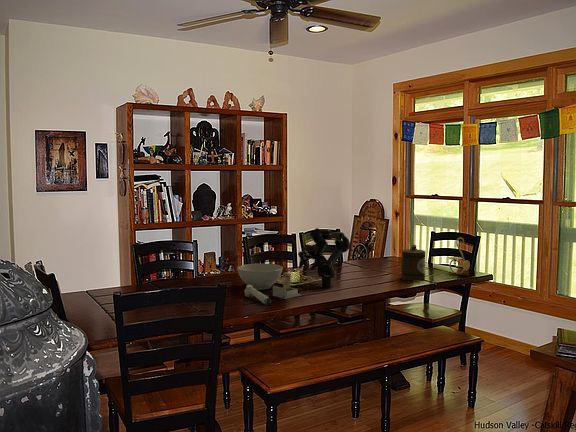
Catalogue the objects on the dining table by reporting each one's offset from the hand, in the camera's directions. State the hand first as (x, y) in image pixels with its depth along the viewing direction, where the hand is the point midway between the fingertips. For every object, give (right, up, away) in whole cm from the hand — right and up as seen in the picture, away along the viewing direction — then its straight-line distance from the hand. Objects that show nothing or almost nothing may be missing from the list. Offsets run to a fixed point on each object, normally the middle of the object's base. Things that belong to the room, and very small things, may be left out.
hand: (304, 269), depth 286 cm
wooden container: (+71, -11, +40) cm, 82 cm away
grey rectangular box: (-10, -14, -5) cm, 18 cm away
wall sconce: (+105, -9, +55) cm, 118 cm away
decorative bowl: (-26, -13, +15) cm, 33 cm away
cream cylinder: (-10, -14, -5) cm, 18 cm away
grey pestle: (-26, -15, -14) cm, 33 cm away
